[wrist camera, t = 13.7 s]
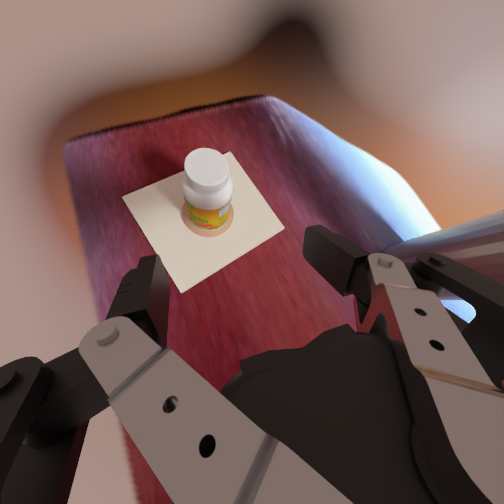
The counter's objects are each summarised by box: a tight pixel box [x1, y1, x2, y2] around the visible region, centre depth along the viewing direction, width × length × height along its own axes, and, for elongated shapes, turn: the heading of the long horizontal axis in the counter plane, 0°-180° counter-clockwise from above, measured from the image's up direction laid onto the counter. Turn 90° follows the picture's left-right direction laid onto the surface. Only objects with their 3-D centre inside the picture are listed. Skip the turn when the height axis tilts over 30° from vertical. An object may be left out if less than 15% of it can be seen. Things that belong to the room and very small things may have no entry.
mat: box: [122, 152, 284, 293], centre depth 27 cm, size 17×15×1 cm
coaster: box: [182, 202, 234, 237], centre depth 26 cm, size 7×7×1 cm
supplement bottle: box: [181, 148, 233, 231], centre depth 22 cm, size 5×5×10 cm
